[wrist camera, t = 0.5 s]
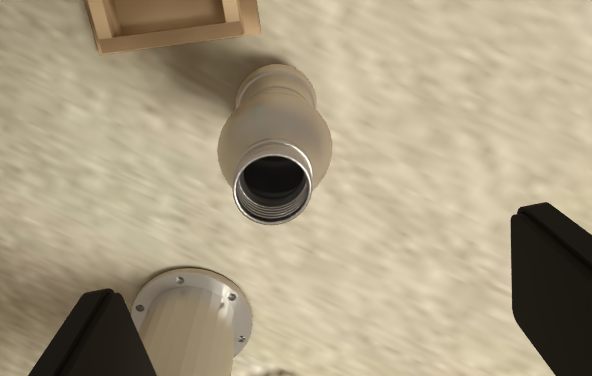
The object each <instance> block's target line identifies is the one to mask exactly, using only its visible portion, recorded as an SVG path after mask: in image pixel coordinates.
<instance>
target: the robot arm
mask: <svg viewBox="0 0 592 376" xmlns="http://www.w3.org/2000/svg"><path fill="white" fill-rule="evenodd" d="M511 269H512V310H513V315H514V318H515V320H516V322H517V324H518V325H519V327H520V328H521V329H522V331H523V332H524V333H525V335H526V336H527V337H528V339H529V340H530V342H531V343H532V344H533V346H534V347H535V348H536V350H537V351H538V352H539V354H540V355H541V356H542V358H543V359H544V360H545V362H546V363H547V365H548V366H549V367H550V369H551V370H552V371H553V373H554V374H555V375H556V376H592V235H591V234H590V233H588V232H587V231H586V230H584V229H583V228H582V227H580V226H579V225H578V224H576V223H575V222H573V221H572V220H571V219H569V218H568V217H567V216H565V215H564V214H563V213H561V212H560V211H559V210H557V209H556V208H555V207H553V206H552V205H551V204H549V203H547V202H544V203H539V204H534V205H529V206H524V207H520V208H519V209H518V212H517V214H516V215H513V216H512V217H511ZM252 319H253V315H252V310H251V306H250V304H249V302H248V300H247V298H246V296H245V295H244V294H243V292H242V291H241V290H240V289H239V288H238V287H237V286H236V285H235V284H234V283H233V282H231V281H230V280H228V279H226V278H225V277H223V276H221V275H219V274H216V273H214V272H211V271H207V270H202V269H193V268H185V269H175V270H172V271H168V272H165V273H162V274H160V275H158V276H156V277H154V278H153V279H152V280H150V281H149V282H147V283H146V284H145V286H144V287H143V288H142V289H141V290H140V292H139V293H138V295H137V297H136V299H135V301H134V303H133V306H132V310H131V315H130V313H129V311H128V308H127V306H126V304H125V301H124V299H123V297H122V295H121V294H120V293H114V291H113V290H112V289H109V288H107V289H102V290H97V291H92V292H87V293H84V294H83V295H82V296H81V298H80V299H79V301H78V302H77V304H76V305H75V307H74V308H73V310H72V311H71V313H70V314H69V316H68V317H67V319H66V320H65V322H64V323H63V325H62V326H61V328H60V329H59V331H58V332H57V333H56V335H55V336H54V338H53V339H52V341H51V342H50V344H49V345H48V347H47V348H46V350H45V351H44V353H43V354H42V356H41V357H40V359H39V360H38V362H37V363H36V365H35V366H34V368H33V369H32V371H31V372H30V373H29V375H28V376H231V370H232V363H233V358H234V357H235V356H236V355H237V354H238V353H240V352H241V351H242V350H243V348H244V347H245V345H246V344H247V342H248V340H249V338H250V335H251V330H252Z"/></svg>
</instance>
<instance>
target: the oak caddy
mask: <svg viewBox="0 0 592 376" xmlns="http://www.w3.org/2000/svg"><path fill="white" fill-rule="evenodd" d="M84 2H85V5H86V9H87V12H88V16H89V19H90V23H91V26H92V30H93V33H94V37H95V40H96V44H97V47H98V51H99V54H100V55H105V54H112V53H120V52H127V51H135V50H143V49H150V48H158V47H165V46H173V45H181V44H188V43H196V42H204V41H211V40H219V39H226V38H234V37H242V36H249V35H257V34H261V28H260V21H259V14H258V7H257V0H84Z"/></svg>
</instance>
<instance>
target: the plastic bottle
mask: <svg viewBox="0 0 592 376" xmlns="http://www.w3.org/2000/svg"><path fill="white" fill-rule="evenodd" d="M235 105H236V110H235V112H234V113H233V114H232V115H231V116H230V117H229V119H228V120H227V122H226V124H225V125H224V127H223V129H222V131H221V134H220V137H219V141H218V150H217V151H218V161H219V165H220V168H221V171H222V173H223V175H224V177H225V178H226V180H227V182H228V184H229V185H230V186H231V187H232V188H233V197H234V200H235V203H236V205H237V207H238V209H239V210H240V211H241V212H242V214H243V215H245V216H246V217H247V218H248V219H250V220H252V221H254V222H256V223H260V224H264V225H278V224H283V223H286V222H288V221H290V220H292V219H294V218H295V217H297V216H298V215H299V214H300V213H301V212H302V211H303V210H304V209H305V207H306V206H307V205H308V202H309V200H310V197H311V193H312V191H313V190H314V189H315V188H316V187H317V186H318V184H319V183H320V182H321V180H322V179H323V177H324V175H325V174H326V171H327V169H328V167H329V165H330V161H331V156H332V139H331V134H330V131H329V129H328V126H327V124H326V122H325V120H324V119H323V118H322V116H321V115H320V114H319V112H318V111H317V110H316V95H315V91H314V88H313V86H312V84H311V82H310V81H309V79H308V78H307V77H306V76H305V75H304V74H303V73H302V72H301V71H299V70H297V69H296V68H294V67H291V66H288V65H283V64H270V65H267V66H263V67H261V68H259V69H257V70H255V71H254V72H252V73H251V74H250V75H248V77H247V78H246V79H245V80H244V81H243V83H242V84H241V86H240V88H239V90H238V93H237V96H236V104H235Z"/></svg>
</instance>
